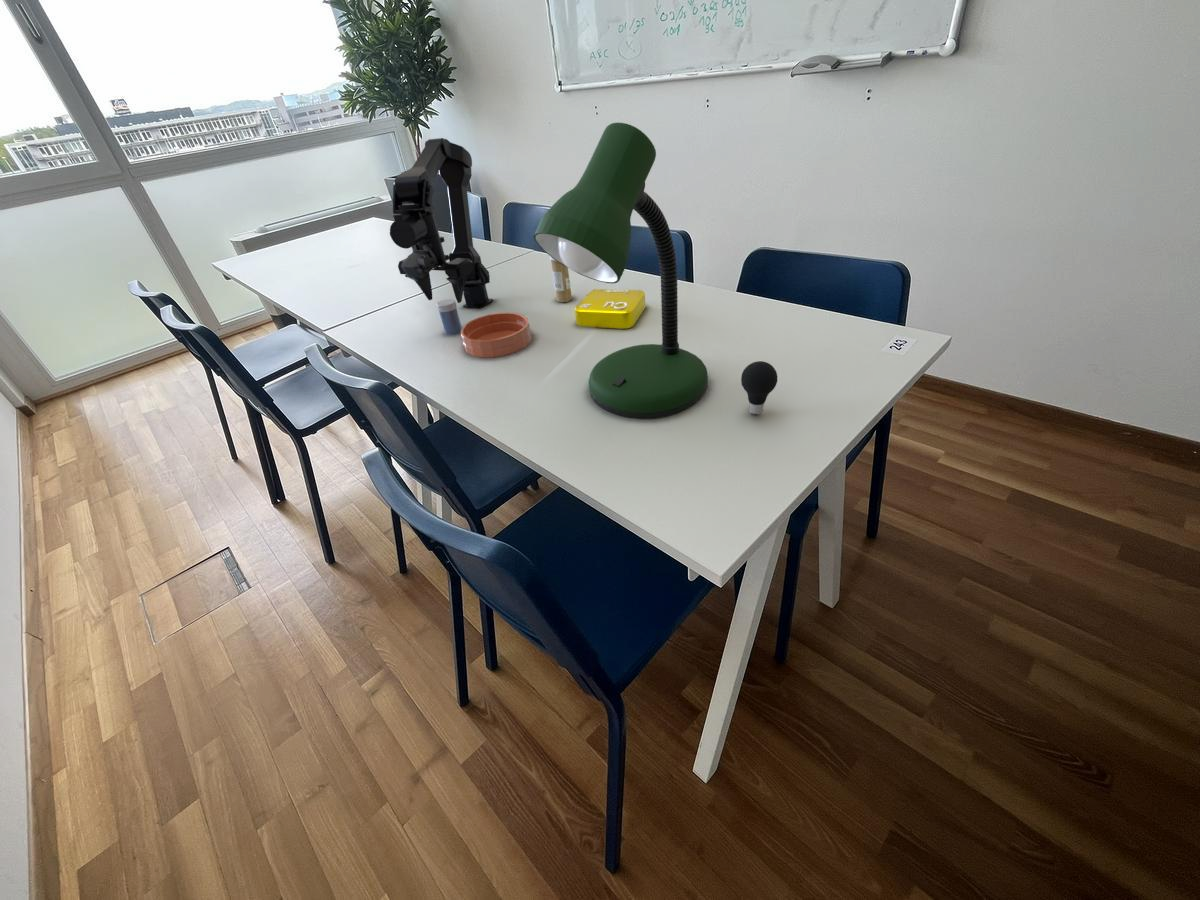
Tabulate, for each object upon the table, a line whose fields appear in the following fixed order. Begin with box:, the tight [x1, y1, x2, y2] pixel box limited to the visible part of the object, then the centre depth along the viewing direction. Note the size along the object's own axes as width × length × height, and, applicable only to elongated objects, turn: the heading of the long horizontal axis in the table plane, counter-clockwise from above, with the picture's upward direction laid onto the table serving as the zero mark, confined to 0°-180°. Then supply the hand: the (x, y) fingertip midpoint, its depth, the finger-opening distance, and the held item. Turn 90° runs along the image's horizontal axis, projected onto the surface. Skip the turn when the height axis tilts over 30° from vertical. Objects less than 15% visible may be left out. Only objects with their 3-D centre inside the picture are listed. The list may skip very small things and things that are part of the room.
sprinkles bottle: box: [549, 255, 573, 303], centre depth 140 cm, size 5×5×13 cm
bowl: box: [460, 312, 533, 359], centre depth 124 cm, size 16×16×4 cm
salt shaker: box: [436, 298, 463, 336], centre depth 131 cm, size 5×5×8 cm
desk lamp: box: [533, 122, 709, 420], centre depth 86 cm, size 31×23×45 cm
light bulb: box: [740, 360, 778, 416], centre depth 88 cm, size 6×6×10 cm
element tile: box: [574, 288, 646, 330], centre depth 130 cm, size 15×15×5 cm
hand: (445, 301), depth 128 cm, fingers open, 9 cm apart
